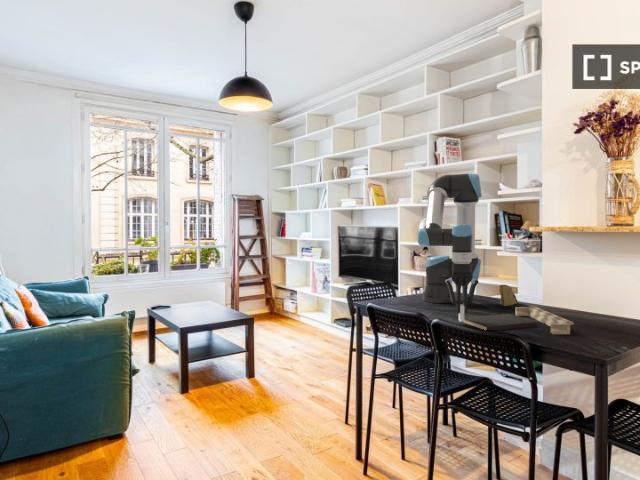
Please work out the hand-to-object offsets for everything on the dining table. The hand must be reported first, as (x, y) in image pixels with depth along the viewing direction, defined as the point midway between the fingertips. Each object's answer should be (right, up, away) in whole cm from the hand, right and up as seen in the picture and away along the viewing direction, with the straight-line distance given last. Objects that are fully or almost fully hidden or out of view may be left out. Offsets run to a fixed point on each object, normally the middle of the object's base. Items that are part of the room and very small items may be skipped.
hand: (461, 321), depth 172 cm
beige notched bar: (+31, -1, -1) cm, 31 cm away
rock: (+37, +1, +39) cm, 54 cm away
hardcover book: (+15, -2, 0) cm, 15 cm away
